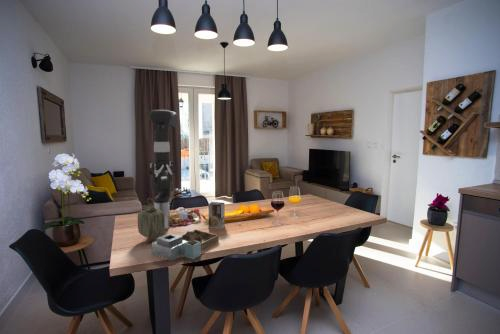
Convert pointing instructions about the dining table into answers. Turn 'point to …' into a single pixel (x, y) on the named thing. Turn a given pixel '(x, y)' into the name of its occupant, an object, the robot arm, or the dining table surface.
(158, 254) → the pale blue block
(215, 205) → the coffee box
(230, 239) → the dining table surface
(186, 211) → the food tray
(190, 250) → the pen cup
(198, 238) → the seashell
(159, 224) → the green backpack
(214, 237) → the frame
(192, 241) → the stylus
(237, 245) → the dining table surface
